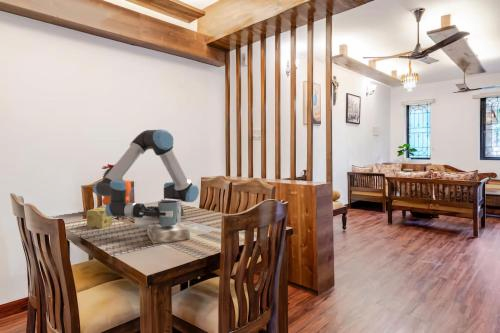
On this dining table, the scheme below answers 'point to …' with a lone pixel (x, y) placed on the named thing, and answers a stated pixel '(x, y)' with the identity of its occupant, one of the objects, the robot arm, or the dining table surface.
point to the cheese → (98, 218)
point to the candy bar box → (178, 207)
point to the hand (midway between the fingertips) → (176, 212)
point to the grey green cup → (168, 206)
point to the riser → (167, 233)
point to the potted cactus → (128, 184)
